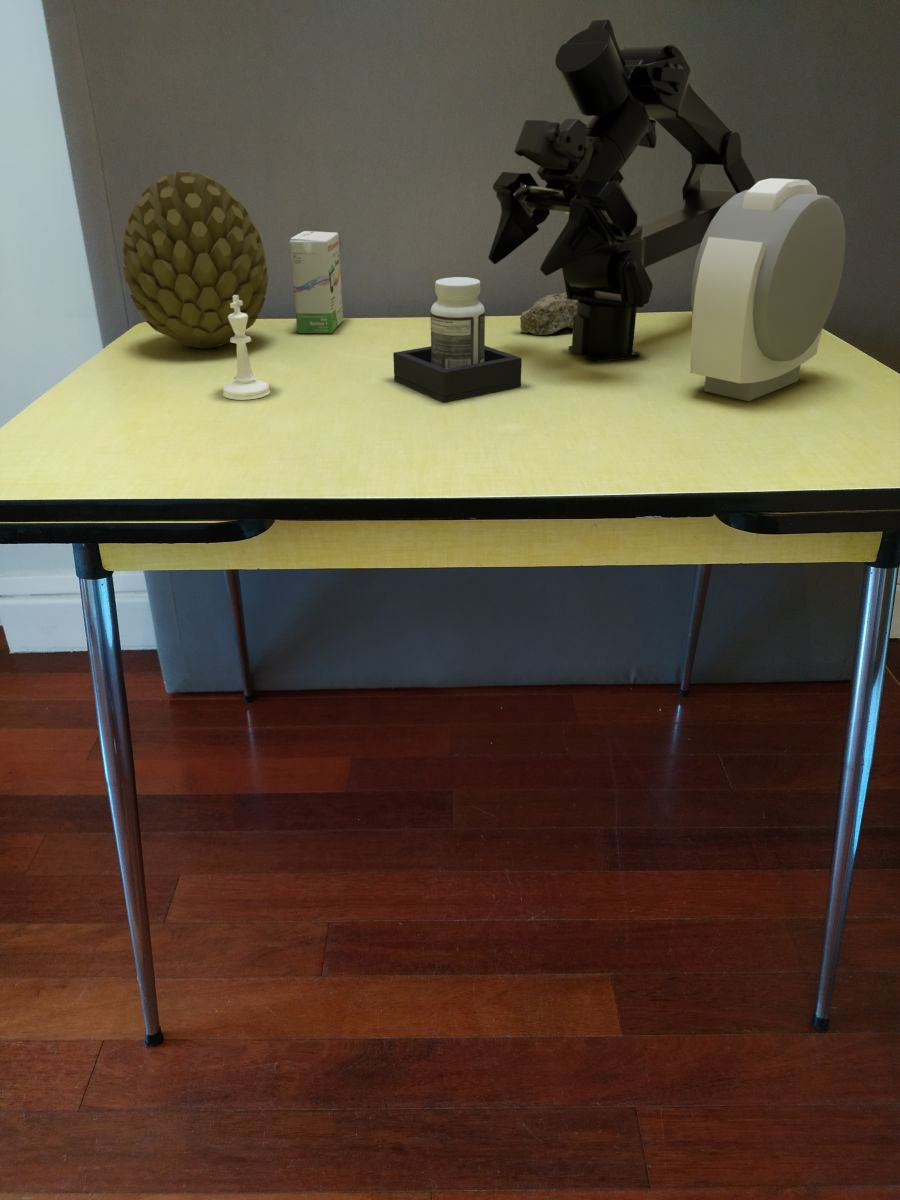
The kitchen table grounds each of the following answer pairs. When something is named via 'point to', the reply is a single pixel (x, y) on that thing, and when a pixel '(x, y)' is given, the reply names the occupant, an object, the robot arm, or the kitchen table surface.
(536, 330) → the rock
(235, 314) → the chess piece
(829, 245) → the alarm clock
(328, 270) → the ink box
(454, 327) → the pill bottle
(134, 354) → the kitchen table surface
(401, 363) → the socket pad
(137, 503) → the kitchen table surface
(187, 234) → the decorative object
